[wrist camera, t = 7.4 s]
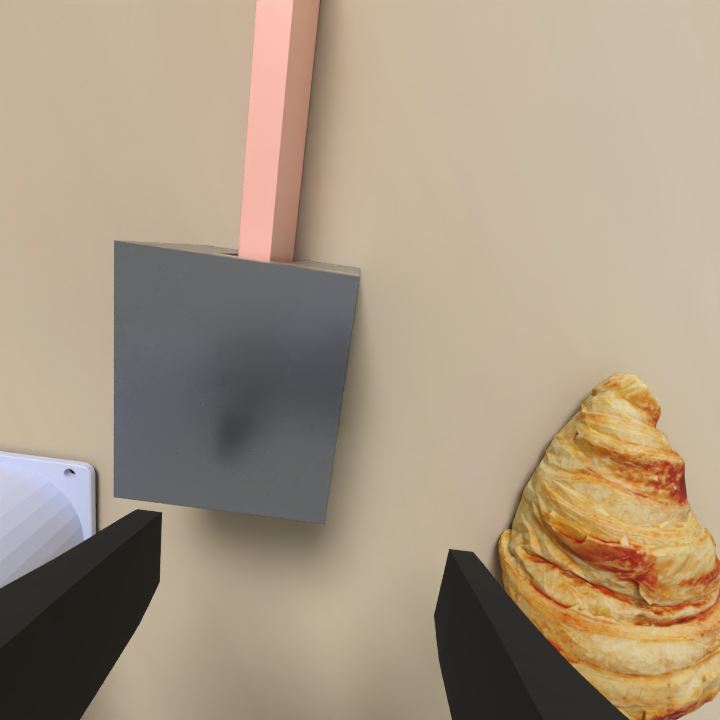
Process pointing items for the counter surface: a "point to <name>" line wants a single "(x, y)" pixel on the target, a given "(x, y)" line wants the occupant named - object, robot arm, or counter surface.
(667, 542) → the croissant
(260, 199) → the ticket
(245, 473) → the grey cube
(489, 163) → the counter surface
